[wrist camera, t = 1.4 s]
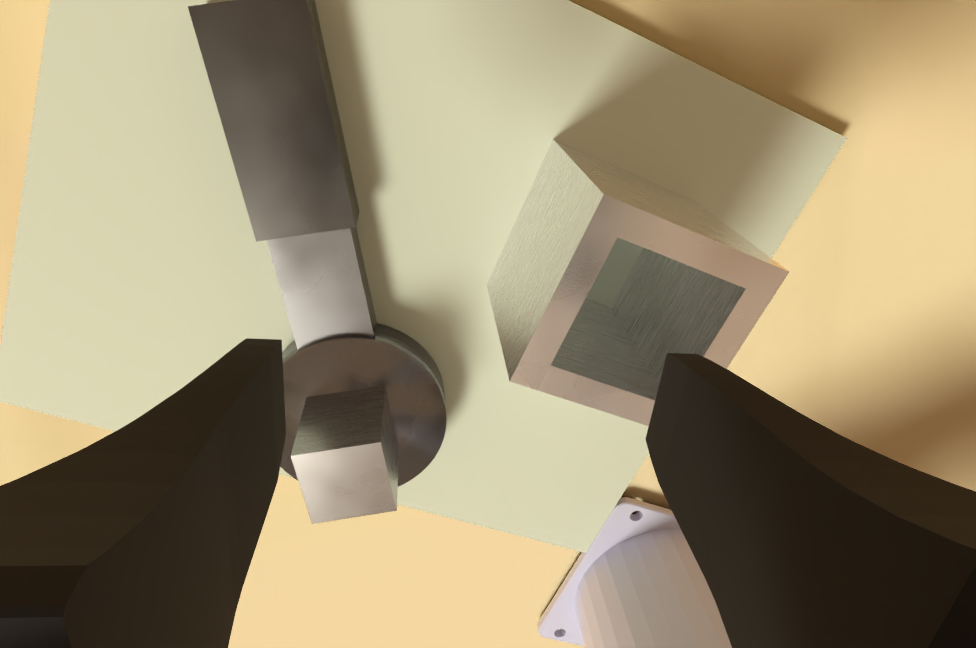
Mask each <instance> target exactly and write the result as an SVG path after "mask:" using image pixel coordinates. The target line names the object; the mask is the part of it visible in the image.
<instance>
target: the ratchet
mask: <svg viewBox="0 0 976 648" xmlns="http://www.w3.org/2000/svg"><path fill="white" fill-rule="evenodd" d="M188 9H189V13H190V16H191V20H192V23H193V27H194V30H195V34H196V37H197V40H198V44H199V47H200V51H201V54H202V58H203V61H204V64H205V68H206V71H207V75H208V78H209V82H210V85H211V88H212V92H213V95H214V99H215V102H216V106H217V109H218V112H219V116H220V119H221V123H222V126H223V130H224V133H225V136H226V140H227V143H228V147H229V150H230V154H231V157H232V160H233V164H234V167H235V171H236V174H237V178H238V181H239V184H240V188H241V191H242V195H243V198H244V202H245V205H246V208H247V212H248V215H249V219H250V222H251V226H252V229H253V232H254V236H255V239H256V242H257V241H264V240H266V241H267V244H268V248H269V251H270V255H271V258H272V262H273V265H274V269H275V272H276V276H277V280H278V283H279V287H280V290H281V294H282V297H283V301H284V304H285V308H286V311H287V315H288V318H289V322H290V325H291V329H292V332H293V336H294V339H295V340H294V341H293V342H292V343H291V344H289V345H288V346H287V347H286V348H285V350H284V351H283V352H282V358H283V379H284V401H285V422H286V437H285V442H284V448H283V454H282V460H281V465H280V467H281V468H282V469H283V470H284V471H285V472H287V473H288V474H289V475H291V476H292V477H293V478H295V479H296V480H298V481H299V484H300V487H301V491H302V494H303V497H304V500H305V503H306V506H307V510H308V513H309V516H310V519H311V522H312V524H315V523H321V522H327V521H334V520H340V519H346V518H353V517H359V516H365V515H372V514H378V513H384V512H391V511H397V491H398V487H399V486H401V485H403V484H405V483H407V482H408V481H410V480H412V479H413V478H415V477H416V476H417V475H419V474H420V473H421V472H422V471H423V470H424V469H425V468H426V467H427V466H428V465H429V464H430V463H431V462H432V460H433V459H434V458H435V456H436V455H437V453H438V451H439V449H440V447H441V445H442V442H443V440H444V436H445V431H446V405H445V392H444V384H443V380H442V376H441V374H440V371H439V369H438V367H437V365H436V363H435V362H434V360H433V358H432V357H431V356H430V354H429V353H428V352H427V351H426V350H425V349H424V348H423V347H422V346H421V345H420V344H419V343H418V342H417V341H415V340H414V339H413V338H411V337H410V336H408V335H407V334H405V333H403V332H401V331H399V330H397V329H395V328H392V327H390V326H387V325H383V324H380V323H377V321H376V316H375V312H374V307H373V302H372V298H371V293H370V289H369V284H368V279H367V275H366V270H365V265H364V261H363V256H362V252H361V247H360V242H359V238H358V233H357V229H356V224H357V220H358V216H359V212H360V211H359V206H358V202H357V197H356V192H355V188H354V183H353V178H352V173H351V169H350V164H349V159H348V155H347V150H346V145H345V140H344V136H343V131H342V126H341V122H340V117H339V112H338V108H337V103H336V98H335V93H334V89H333V84H332V79H331V75H330V70H329V65H328V60H327V56H326V51H325V46H324V42H323V37H322V32H321V27H320V23H319V18H318V13H317V9H316V4H315V0H232V1H224V2H217V3H209V4H201V5H194V6H188Z"/></svg>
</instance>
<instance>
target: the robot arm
mask: <svg viewBox="0 0 976 648" xmlns="http://www.w3.org/2000/svg"><path fill="white" fill-rule="evenodd" d="M285 437H286V422H285V401H284V379H283V358H282V340H280V339H251V338H246V339H245V340H243V341H242V342H240V343H239V344H238V345H237V346H235V347H234V348H233V349H231V350H230V351H229V352H228V353H226V354H225V355H224V356H223V357H222V358H220V359H219V360H218V361H217V362H215V363H214V364H213V365H211V366H210V367H209V368H208V369H206V370H205V371H204V372H202V373H201V374H200V375H198V376H197V377H196V378H195V379H193V380H192V381H191V382H189V383H188V384H187V385H185V386H184V387H183V388H181V389H180V390H178V391H177V392H176V393H174V394H173V395H171V396H170V397H168V398H167V399H165V400H164V401H162V402H161V403H159V404H158V405H156V406H155V407H153V408H152V409H151V410H149V411H148V412H146V413H145V414H143V415H142V416H140V417H139V418H137V419H135V420H134V421H132V422H131V423H129V424H127V425H126V426H124V427H122V428H120V429H119V430H117V431H115V432H114V433H112V434H110V435H108V436H106V437H104V438H103V439H101V440H99V441H97V442H95V443H93V444H91V445H90V446H88V447H86V448H84V449H82V450H80V451H78V452H76V453H74V454H72V455H70V456H67V457H65V458H63V459H61V460H59V461H56V462H54V463H52V464H50V465H48V466H45V467H43V468H41V469H39V470H37V471H34V472H32V473H30V474H28V475H26V476H23V477H21V478H19V479H17V480H14V481H12V482H9V483H7V484H4V485H2V486H0V648H228V644H229V639H230V635H231V630H232V626H233V621H234V616H235V612H236V608H237V605H238V601H239V598H240V594H241V590H242V587H243V584H244V581H245V578H246V575H247V572H248V569H249V566H250V563H251V560H252V557H253V554H254V551H255V548H256V545H257V542H258V539H259V536H260V533H261V530H262V527H263V524H264V521H265V518H266V515H267V512H268V509H269V505H270V502H271V499H272V496H273V493H274V490H275V487H276V484H277V480H278V475H279V470H280V465H281V460H282V454H283V448H284V442H285ZM645 440H646V443H647V447H648V450H649V454H650V457H651V460H652V464H653V467H654V470H655V473H656V476H657V479H658V482H659V484H660V487H661V489H662V491H663V493H664V495H665V497H666V500H667V502H668V504H669V506H670V508H671V510H670V509H667V508H663V507H660V506H656V505H653V504H649V503H646V502H642V501H639V500H635V499H632V498H627V497H623V498H620V499H619V501H618V502H617V504H616V506H615V507H614V509H613V510H612V512H611V514H610V515H609V517H608V518H607V520H606V521H605V523H604V525H603V526H602V528H601V529H600V531H599V533H598V534H597V536H596V537H595V539H594V540H593V542H592V544H591V545H590V547H589V548H588V550H587V552H586V553H583V552H582V553H581V554H580V556H579V558H578V559H577V561H576V562H575V564H574V566H573V567H572V569H571V570H570V572H569V574H568V575H567V577H566V578H565V580H564V582H563V583H562V585H561V586H560V588H559V590H558V591H557V593H556V594H555V596H554V597H553V599H552V601H551V602H550V604H549V605H548V607H547V609H546V610H545V612H544V613H543V615H542V617H541V618H540V620H539V621H538V624H537V627H538V632H539V634H540V635H541V636H542V637H545V638H549V639H553V640H558V641H563V642H567V643H572V644H576V645H581V646H585V648H976V492H975V491H972V490H969V489H966V488H963V487H960V486H958V485H955V484H952V483H950V482H947V481H944V480H942V479H939V478H937V477H934V476H931V475H929V474H926V473H923V472H921V471H918V470H916V469H913V468H911V467H909V466H906V465H904V464H901V463H899V462H897V461H894V460H892V459H890V458H888V457H885V456H883V455H881V454H879V453H877V452H875V451H872V450H870V449H868V448H866V447H864V446H862V445H859V444H857V443H855V442H853V441H851V440H849V439H847V438H845V437H843V436H841V435H839V434H837V433H835V432H834V431H832V430H830V429H828V428H826V427H824V426H823V425H821V424H819V423H817V422H815V421H813V420H811V419H810V418H808V417H806V416H804V415H803V414H801V413H799V412H797V411H796V410H794V409H792V408H790V407H789V406H787V405H785V404H784V403H782V402H780V401H778V400H777V399H775V398H774V397H772V396H770V395H769V394H767V393H765V392H764V391H762V390H760V389H759V388H757V387H755V386H754V385H752V384H750V383H749V382H747V381H745V380H744V379H742V378H741V377H739V376H737V375H736V374H734V373H732V372H731V371H729V370H727V369H725V368H724V367H722V366H720V365H718V364H717V363H715V362H713V361H711V360H709V359H707V358H705V357H703V356H701V355H698V354H683V353H667V355H666V359H665V363H664V367H663V371H662V375H661V379H660V383H659V387H658V391H657V395H656V399H655V403H654V407H653V411H652V415H651V419H650V423H649V427H648V431H647V435H646V439H645ZM635 511H638V512H637V513H635V514H631V513H632V512H635ZM558 629H559V630H558Z"/></svg>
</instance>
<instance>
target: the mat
mask: <svg viewBox="0 0 976 648" xmlns="http://www.w3.org/2000/svg"><path fill="white" fill-rule="evenodd" d="M224 1H232V0H50V3H49V9H48V16H47V23H46V30H45V37H44V44H43V51H42V58H41V65H40V72H39V79H38V86H37V93H36V100H35V107H34V114H33V121H32V128H31V135H30V142H29V149H28V156H27V163H26V169H25V176H24V183H23V190H22V197H21V204H20V211H19V218H18V225H17V232H16V239H15V246H14V253H13V260H12V267H11V274H10V281H9V288H8V295H7V302H6V309H5V316H4V323H3V329H2V336H1V343H0V402H3V403H7V404H11V405H14V406H18V407H22V408H26V409H30V410H34V411H38V412H41V413H45V414H49V415H53V416H57V417H61V418H65V419H69V420H72V421H76V422H80V423H84V424H88V425H92V426H96V427H100V428H103V429H107V430H111V431H117V430H119V429H120V428H122V427H124V426H126V425H127V424H129V423H131V422H132V421H134V420H135V419H137V418H139V417H140V416H142V415H143V414H145V413H146V412H148V411H149V410H151V409H152V408H153V407H155V406H156V405H158V404H159V403H161V402H162V401H164V400H165V399H167V398H168V397H170V396H171V395H173V394H174V393H176V392H177V391H178V390H180V389H181V388H183V387H184V386H185V385H187V384H188V383H189V382H191V381H192V380H193V379H195V378H196V377H197V376H198V375H200V374H201V373H202V372H204V371H205V370H206V369H208V368H209V367H210V366H211V365H213V364H214V363H215V362H217V361H218V360H219V359H220V358H222V357H223V356H224V355H225V354H226V353H228V352H229V351H230V350H231V349H233V348H234V347H235V346H237V345H238V344H239V343H240V342H242V341H243V340H245V339H246V338H251V339H280V340H282V352H283V351H284V350H285V348H286V347H287V346H288V345H289V344H291V343H292V342H293V341H294V340H295V339H294V336H293V332H292V329H291V325H290V322H289V318H288V315H287V311H286V308H285V304H284V301H283V297H282V294H281V290H280V287H279V283H278V280H277V276H276V272H275V269H274V265H273V262H272V258H271V255H270V251H269V248H268V244H267V241H266V240H264V241H257V242H256V239H255V236H254V232H253V229H252V226H251V222H250V219H249V215H248V212H247V208H246V205H245V202H244V198H243V195H242V191H241V188H240V184H239V181H238V178H237V174H236V171H235V167H234V164H233V160H232V157H231V154H230V150H229V147H228V143H227V140H226V136H225V133H224V130H223V126H222V123H221V119H220V116H219V112H218V109H217V106H216V102H215V99H214V95H213V92H212V88H211V85H210V82H209V78H208V75H207V71H206V68H205V64H204V61H203V58H202V54H201V51H200V47H199V44H198V40H197V37H196V34H195V30H194V27H193V23H192V20H191V16H190V13H189V9H188V6H194V5H201V4H209V3H217V2H224ZM315 4H316V9H317V13H318V18H319V23H320V27H321V32H322V37H323V42H324V46H325V51H326V56H327V60H328V65H329V70H330V75H331V79H332V84H333V89H334V93H335V98H336V103H337V108H338V112H339V117H340V122H341V126H342V131H343V136H344V140H345V145H346V150H347V155H348V159H349V164H350V169H351V173H352V178H353V183H354V188H355V192H356V197H357V202H358V206H359V211H360V212H359V216H358V220H357V224H356V229H357V233H358V238H359V242H360V247H361V252H362V256H363V261H364V265H365V270H366V275H367V279H368V284H369V289H370V293H371V298H372V302H373V307H374V312H375V316H376V321H377V323H380V324H383V325H387V326H390V327H392V328H395V329H397V330H399V331H401V332H403V333H405V334H407V335H408V336H410V337H411V338H413V339H414V340H415V341H417V342H418V343H419V344H420V345H421V346H422V347H423V348H424V349H425V350H426V351H427V352H428V353H429V354H430V356H431V357H432V358H433V360H434V362H435V363H436V365H437V367H438V369H439V371H440V374H441V376H442V380H443V384H444V392H445V405H446V431H445V436H444V440H443V442H442V445H441V447H440V449H439V451H438V453H437V455H436V456H435V458H434V459H433V460H432V462H431V463H430V464H429V465H428V466H427V467H426V468H425V469H424V470H423V471H422V472H421V473H420V474H419V475H417V476H416V477H415V478H413V479H412V480H410V481H408V482H407V483H405V484H403V485H401V486H399V487H398V491H397V505H401V506H405V507H409V508H413V509H417V510H421V511H425V512H428V513H432V514H436V515H440V516H444V517H448V518H452V519H456V520H459V521H463V522H467V523H471V524H475V525H479V526H483V527H486V528H490V529H494V530H498V531H502V532H506V533H510V534H514V535H517V536H521V537H525V538H529V539H533V540H537V541H541V542H545V543H548V544H552V545H556V546H560V547H564V548H568V549H572V550H575V551H579V552H583V553H586V552H587V550H588V548H589V547H590V545H591V544H592V542H593V540H594V539H595V537H596V536H597V534H598V533H599V531H600V529H601V528H602V526H603V525H604V523H605V521H606V520H607V518H608V517H609V515H610V514H611V512H612V510H613V509H614V507H615V506H616V504H617V502H618V501H619V499H620V498H621V496H622V494H623V493H624V491H625V490H626V488H627V487H628V485H629V483H630V482H631V480H632V479H633V477H634V475H635V474H636V472H637V471H638V469H639V468H640V466H641V464H642V463H643V461H644V460H645V458H646V456H647V455H648V453H649V450H648V447H647V443H646V440H645V439H646V435H647V431H648V427H649V426H646V425H643V424H640V423H637V422H634V421H631V420H628V419H625V418H621V417H618V416H615V415H612V414H609V413H606V412H603V411H600V410H597V409H594V408H590V407H587V406H584V405H581V404H578V403H575V402H572V401H569V400H566V399H563V398H559V397H556V396H553V395H550V394H547V393H544V392H541V391H538V390H535V389H532V388H528V387H525V386H522V385H519V384H516V383H513V382H510V381H509V376H508V372H507V368H506V364H505V360H504V356H503V351H502V347H501V343H500V339H499V335H498V331H497V326H496V322H495V318H494V314H493V310H492V306H491V301H490V297H489V293H488V289H487V283H488V281H489V278H490V276H491V274H492V272H493V270H494V267H495V265H496V263H497V261H498V259H499V256H500V254H501V252H502V250H503V248H504V245H505V243H506V241H507V239H508V237H509V235H510V232H511V230H512V228H513V226H514V224H515V221H516V219H517V217H518V215H519V213H520V210H521V208H522V206H523V204H524V202H525V199H526V197H527V195H528V193H529V191H530V188H531V186H532V184H533V182H534V180H535V177H536V175H537V173H538V171H539V169H540V166H541V164H542V162H543V160H544V158H545V155H546V153H547V151H548V149H549V147H550V145H551V142H552V140H553V139H554V140H556V141H558V142H561V143H563V144H565V145H568V146H570V147H572V148H575V149H577V150H579V151H582V152H584V153H586V154H589V155H591V156H593V157H595V158H598V159H600V160H602V161H605V162H607V163H609V164H612V165H614V166H616V167H619V168H621V169H623V170H626V171H628V172H630V173H632V174H635V175H637V176H639V177H642V178H644V179H646V180H649V181H651V182H653V183H656V184H658V185H660V186H663V187H665V188H667V189H669V190H672V191H674V192H676V193H679V194H681V195H683V196H686V197H688V198H690V199H693V200H695V201H696V202H697V203H699V204H700V205H701V206H703V207H704V208H705V209H707V210H708V211H709V212H711V213H712V214H713V215H715V216H716V217H717V218H719V219H720V220H721V221H723V222H724V223H725V224H727V225H728V226H729V227H731V228H732V229H733V230H735V231H736V232H737V233H739V234H740V235H741V236H743V237H744V238H745V239H747V240H748V241H749V242H750V243H752V244H753V245H754V246H756V247H757V248H758V249H760V250H761V251H762V252H764V253H765V254H766V255H768V256H769V257H770V258H772V257H773V255H774V253H775V252H776V250H777V249H778V247H779V245H780V244H781V242H782V241H783V239H784V238H785V236H786V234H787V233H788V231H789V230H790V228H791V226H792V225H793V223H794V222H795V220H796V219H797V217H798V215H799V214H800V212H801V211H802V209H803V207H804V206H805V204H806V203H807V201H808V199H809V198H810V196H811V195H812V193H813V192H814V190H815V188H816V187H817V185H818V184H819V182H820V180H821V179H822V177H823V176H824V174H825V173H826V171H827V169H828V168H829V166H830V165H831V163H832V161H833V160H834V158H835V157H836V155H837V153H838V152H839V150H840V149H841V147H842V146H843V144H844V142H845V141H846V139H847V138H846V137H844V136H842V135H840V134H838V133H836V132H834V131H832V130H830V129H828V128H826V127H824V126H822V125H820V124H818V123H816V122H814V121H812V120H810V119H808V118H806V117H804V116H802V115H800V114H798V113H796V112H794V111H791V110H789V109H787V108H785V107H783V106H781V105H779V104H777V103H775V102H773V101H771V100H769V99H767V98H765V97H763V96H761V95H759V94H757V93H755V92H753V91H751V90H749V89H747V88H745V87H743V86H741V85H739V84H737V83H735V82H733V81H731V80H729V79H727V78H725V77H723V76H721V75H719V74H717V73H715V72H713V71H711V70H709V69H707V68H705V67H703V66H701V65H699V64H697V63H695V62H693V61H690V60H688V59H686V58H684V57H682V56H680V55H678V54H676V53H674V52H672V51H670V50H668V49H666V48H664V47H662V46H660V45H658V44H656V43H654V42H652V41H650V40H648V39H646V38H644V37H642V36H640V35H638V34H636V33H634V32H632V31H630V30H628V29H626V28H624V27H622V26H620V25H618V24H616V23H614V22H612V21H610V20H608V19H606V18H604V17H602V16H600V15H598V14H596V13H594V12H592V11H590V10H587V9H585V8H583V7H581V6H579V5H577V4H575V3H573V2H571V1H569V0H315ZM642 250H643V247H641V246H638V245H636V244H633V243H631V242H628V241H626V240H623V239H621V238H618V237H617V239H616V241H615V243H614V245H613V247H612V249H611V251H610V253H609V255H608V257H607V258H606V260H605V262H604V264H603V266H602V268H601V270H600V272H599V274H598V276H597V278H596V279H595V281H594V283H593V285H592V287H591V289H590V291H589V293H588V295H587V297H586V298H587V299H590V300H593V301H595V302H598V303H601V304H604V305H606V306H609V307H612V305H613V303H614V301H615V300H616V298H617V296H618V294H619V292H620V290H621V289H622V287H623V285H624V283H625V281H626V279H627V278H628V276H629V274H630V272H631V270H632V268H633V266H634V265H635V263H636V261H637V259H638V257H639V255H640V254H641V252H642ZM279 474H281V475H285V476H289V477H292V476H291V475H289V474H288V473H287V472H285V471H284V470H283V469H282V468H281V467H280V470H279Z"/></svg>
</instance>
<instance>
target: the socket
mask: <svg viewBox="0 0 976 648" xmlns="http://www.w3.org/2000/svg"><path fill="white" fill-rule="evenodd" d="M617 237H618V238H621V239H623V240H626V241H628V242H631V243H633V244H636V245H638V246H641V247H643V250H642V252H641V254H640V255H639V257H638V259H637V261H636V263H635V265H634V266H633V268H632V270H631V272H630V274H629V276H628V278H627V279H626V281H625V283H624V285H623V287H622V289H621V290H620V292H619V294H618V296H617V298H616V300H615V301H614V303H613V305H612V307H609V306H606V305H604V304H601V303H598V302H595V301H593V300H590V299H587V298H586V297H587V295H588V293H589V291H590V289H591V287H592V285H593V283H594V281H595V279H596V278H597V276H598V274H599V272H600V270H601V268H602V266H603V264H604V262H605V260H606V258H607V257H608V255H609V253H610V251H611V249H612V247H613V245H614V243H615V241H616V239H617ZM788 273H789V271H788V270H786V269H785V268H784V267H782V266H781V265H780V264H778V263H777V262H776V261H774V260H773V259H772V258H770V257H769V256H768V255H766V254H765V253H764V252H762V251H761V250H760V249H758V248H757V247H756V246H754V245H753V244H752V243H750V242H749V241H748V240H747V239H745V238H744V237H743V236H741V235H740V234H739V233H737V232H736V231H735V230H733V229H732V228H731V227H729V226H728V225H727V224H725V223H724V222H723V221H721V220H720V219H719V218H717V217H716V216H715V215H713V214H712V213H711V212H709V211H708V210H707V209H705V208H704V207H703V206H701V205H700V204H699V203H697V202H696V201H695V200H693V199H690V198H688V197H686V196H683V195H681V194H679V193H676V192H674V191H672V190H669V189H667V188H665V187H663V186H660V185H658V184H656V183H653V182H651V181H649V180H646V179H644V178H642V177H639V176H637V175H635V174H632V173H630V172H628V171H626V170H623V169H621V168H619V167H616V166H614V165H612V164H609V163H607V162H605V161H602V160H600V159H598V158H595V157H593V156H591V155H589V154H586V153H584V152H582V151H579V150H577V149H575V148H572V147H570V146H568V145H565V144H563V143H561V142H558V141H556V140H554V139H553V140H552V142H551V145H550V147H549V149H548V151H547V153H546V155H545V158H544V160H543V162H542V164H541V166H540V169H539V171H538V173H537V175H536V177H535V180H534V182H533V184H532V186H531V188H530V191H529V193H528V195H527V197H526V199H525V202H524V204H523V206H522V208H521V210H520V213H519V215H518V217H517V219H516V221H515V224H514V226H513V228H512V230H511V232H510V235H509V237H508V239H507V241H506V243H505V245H504V248H503V250H502V252H501V254H500V256H499V259H498V261H497V263H496V265H495V267H494V270H493V272H492V274H491V276H490V278H489V281H488V283H487V289H488V293H489V297H490V301H491V306H492V310H493V314H494V318H495V322H496V326H497V331H498V335H499V339H500V343H501V347H502V351H503V356H504V360H505V364H506V368H507V372H508V376H509V381H510V382H513V383H516V384H519V385H522V386H525V387H528V388H532V389H535V390H538V391H541V392H544V393H547V394H550V395H553V396H556V397H559V398H563V399H566V400H569V401H572V402H575V403H578V404H581V405H584V406H587V407H590V408H594V409H597V410H600V411H603V412H606V413H609V414H612V415H615V416H618V417H621V418H625V419H628V420H631V421H634V422H637V423H640V424H643V425H646V426H649V423H650V419H651V415H652V411H653V407H654V403H655V399H656V395H657V391H658V387H659V383H660V379H661V375H662V371H663V367H664V363H665V359H666V355H667V353H683V354H698V355H701V356H703V357H705V358H707V359H709V360H711V361H713V362H715V363H717V364H718V365H720V366H722V367H724V368H725V369H727V367H728V366H729V364H730V363H731V361H732V359H733V358H734V356H735V355H736V353H737V352H738V350H739V349H740V347H741V346H742V344H743V342H744V341H745V339H746V338H747V336H748V335H749V333H750V332H751V330H752V329H753V327H754V325H755V324H756V322H757V321H758V319H759V318H760V316H761V315H762V313H763V312H764V310H765V308H766V307H767V305H768V304H769V302H770V301H771V299H772V298H773V296H774V295H775V293H776V292H777V290H778V288H779V287H780V285H781V284H782V282H783V281H784V279H785V278H786V276H787V275H788Z"/></svg>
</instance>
